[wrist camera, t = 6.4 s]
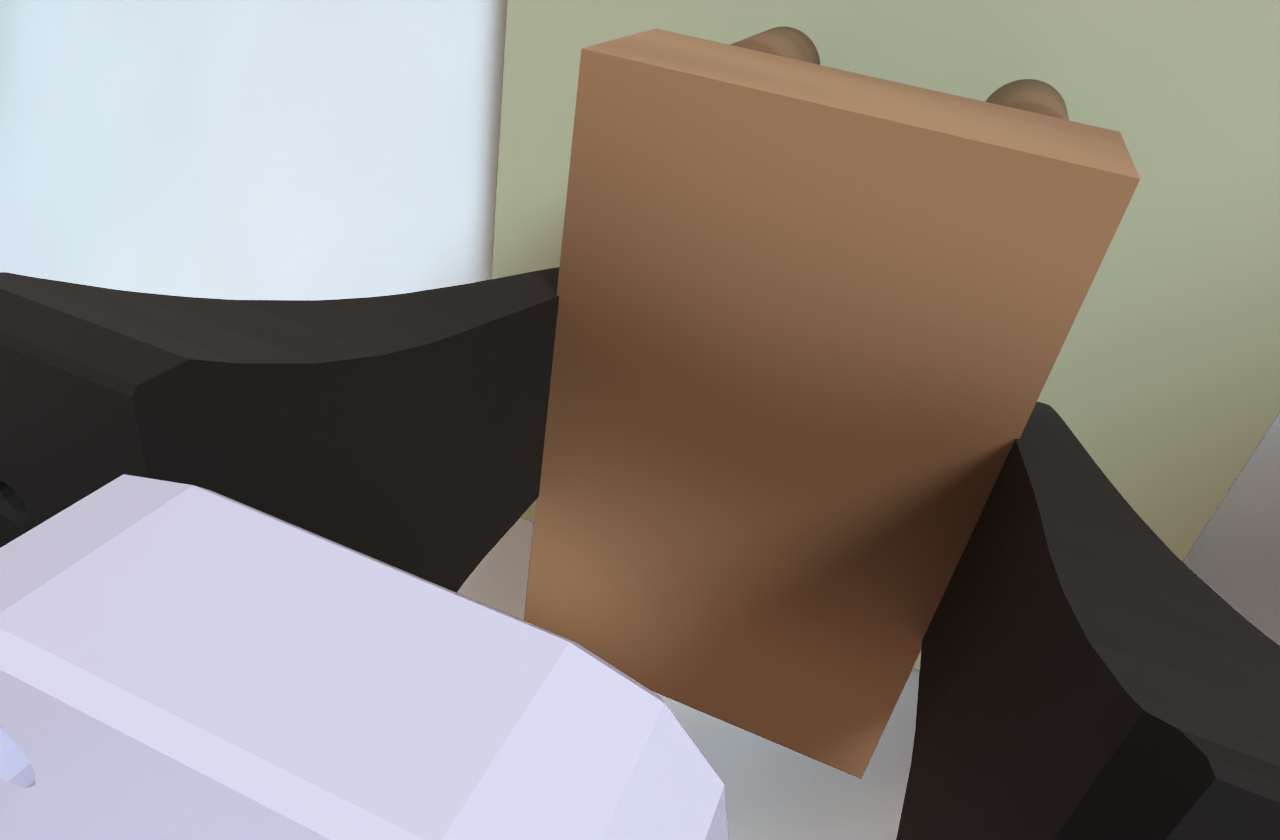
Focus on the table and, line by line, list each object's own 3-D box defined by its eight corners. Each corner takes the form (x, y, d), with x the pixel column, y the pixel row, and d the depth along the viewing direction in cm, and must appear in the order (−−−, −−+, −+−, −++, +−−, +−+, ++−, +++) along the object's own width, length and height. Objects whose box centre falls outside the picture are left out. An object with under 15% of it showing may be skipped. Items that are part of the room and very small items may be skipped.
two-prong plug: (912, 522, 16) (861, 779, 11) (664, 437, 17) (521, 635, 12) (1095, 76, 12) (1140, 178, 7) (748, 3, 13) (581, 49, 8)
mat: (1653, -220, 10) (1696, -231, 9) (1071, 701, 18) (1073, 729, 18) (552, -346, 13) (528, -361, 13) (495, 484, 22) (478, 501, 21)
